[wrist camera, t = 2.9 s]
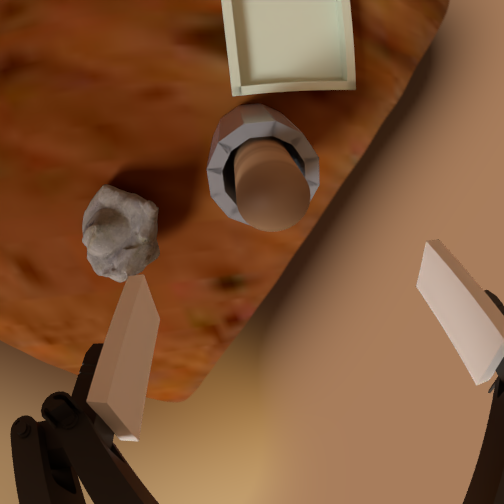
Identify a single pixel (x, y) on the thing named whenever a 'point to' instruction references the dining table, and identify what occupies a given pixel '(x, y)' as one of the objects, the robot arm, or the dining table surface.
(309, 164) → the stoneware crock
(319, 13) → the sage tray
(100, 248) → the fossil
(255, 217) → the walnut dowel
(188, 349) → the dining table surface
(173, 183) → the dining table surface
